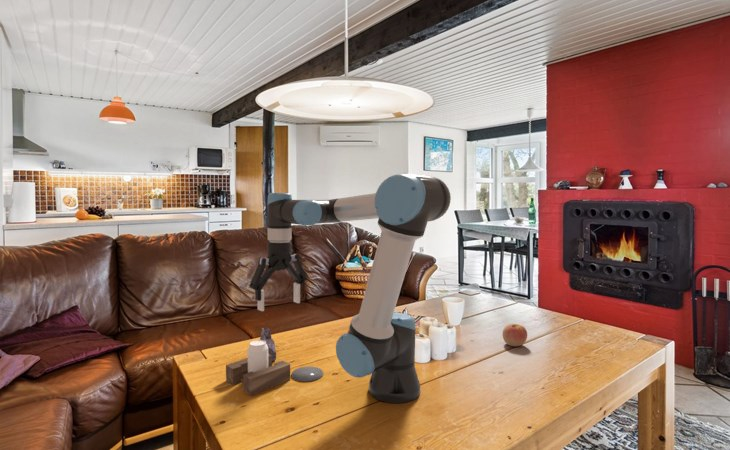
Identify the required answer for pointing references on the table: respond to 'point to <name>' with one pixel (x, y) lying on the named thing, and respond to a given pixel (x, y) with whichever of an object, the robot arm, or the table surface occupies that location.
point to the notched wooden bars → (257, 375)
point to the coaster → (307, 374)
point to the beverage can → (257, 356)
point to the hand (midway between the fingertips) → (279, 306)
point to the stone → (269, 342)
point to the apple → (514, 334)
